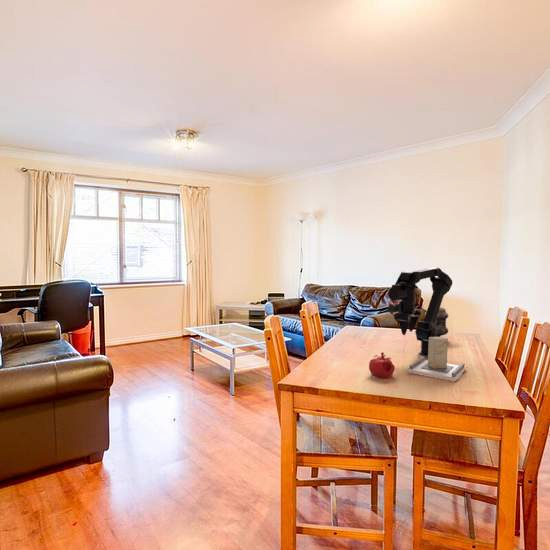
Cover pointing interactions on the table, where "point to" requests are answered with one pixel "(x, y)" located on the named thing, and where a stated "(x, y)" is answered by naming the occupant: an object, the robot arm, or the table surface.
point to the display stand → (437, 370)
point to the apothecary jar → (441, 322)
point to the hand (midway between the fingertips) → (407, 333)
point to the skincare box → (437, 352)
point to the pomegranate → (381, 366)
